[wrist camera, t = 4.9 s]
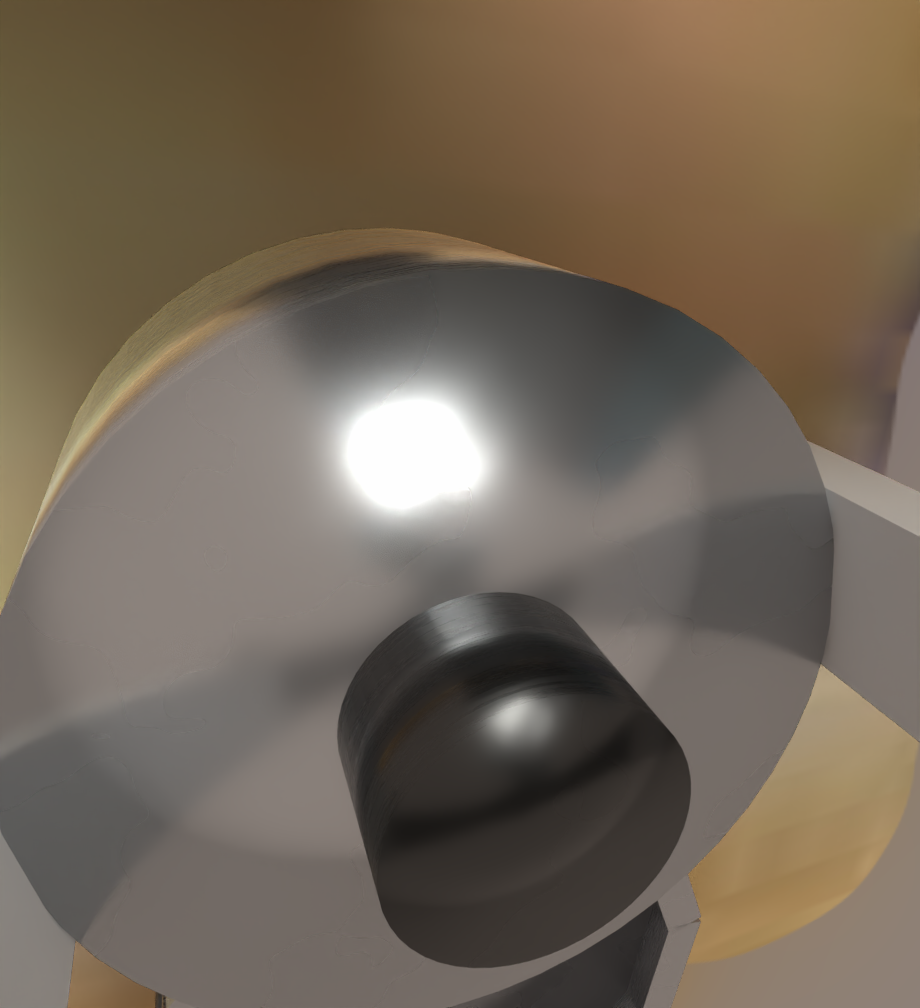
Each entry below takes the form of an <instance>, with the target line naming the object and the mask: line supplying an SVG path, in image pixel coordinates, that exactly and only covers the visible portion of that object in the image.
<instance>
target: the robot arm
mask: <svg viewBox="0 0 920 1008" xmlns="http://www.w3.org/2000/svg"><path fill="white" fill-rule="evenodd" d="M807 442H808V444H809V445H810V448H811V451H812V453H813V456H814V459H815V462H816V465H817V467H818V470H819V473H820V476H821V478H822V481H823V484H824V487H825V491H826V496H827V501H828V507H829V512H830V517H831V522H832V527H833V539H834V562H833V580H832V597H831V615H830V626H829V631H828V635H827V640H826V645H825V650H824V655H823V658H822V661H821V664H822V665H823V666H824V667H825V668H827V669H828V670H829V671H830V672H832V673H833V674H834V675H836V676H837V677H838V678H839V679H841V680H842V681H843V682H844V683H846V684H847V685H848V686H849V687H851V688H852V689H853V690H854V691H856V692H857V693H858V694H859V695H861V696H862V697H863V698H865V699H866V700H867V701H868V702H870V703H871V704H872V705H873V706H875V707H876V708H877V709H878V710H880V711H881V712H882V713H883V714H885V715H886V716H887V717H888V718H890V719H891V720H892V721H894V722H895V723H896V724H897V725H899V726H900V727H901V728H902V729H904V730H905V731H906V732H907V733H909V734H910V735H911V736H912V737H914V738H915V739H916V740H917V741H919V742H920V492H918V491H917V490H914V489H912V488H910V487H908V486H905V485H903V484H901V483H899V482H897V481H895V480H892V479H890V478H888V477H886V476H884V475H882V474H879V473H877V472H875V471H873V470H871V469H868V468H866V467H864V466H862V465H860V464H858V463H855V462H853V461H851V460H849V459H847V458H844V457H842V456H840V455H838V454H836V453H834V452H831V451H829V450H827V449H825V448H823V447H820V446H818V445H816V444H814V443H812V442H809V441H807ZM74 948H75V939H74V938H73V937H72V936H71V935H69V934H68V933H67V932H66V931H65V930H64V929H63V928H61V927H60V926H59V924H58V923H57V922H56V921H55V919H54V918H53V917H52V916H51V914H50V913H49V912H48V911H47V910H46V908H45V907H44V905H43V904H42V902H41V900H40V898H39V897H38V895H37V893H36V892H35V890H34V888H33V887H32V885H31V883H30V882H29V880H28V878H27V876H26V875H25V873H24V871H23V870H22V868H21V866H20V865H19V863H18V861H17V859H16V858H15V856H14V854H13V853H12V851H11V849H10V848H9V846H8V844H7V843H6V841H5V839H4V837H3V836H2V833H1V830H0V1008H67V1006H68V997H69V989H70V981H71V973H72V965H73V957H74Z"/></svg>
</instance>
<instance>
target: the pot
mask: <svg viewBox="0 0 920 1008" xmlns="http://www.w3.org/2000/svg"><path fill="white" fill-rule="evenodd" d="M700 917H701V915H700V912H699V908H698V905H697V902H696V899H695V896H694V892H693V889H692V886H691V883H690V880H689V876H688V874H687V875H686V876H685V877H684V878H682V879H681V880H680V881H679V882H678V883H677V884H676V885H674V886H673V887H672V888H671V889H670V890H669V891H668V892H666V893H665V894H664V895H663V896H662V897H661V898H659V899H658V900H657V901H656V902H655V903H653V904H652V905H651V906H649V907H648V908H647V909H645V910H644V911H643V912H641V913H640V914H639V915H637V916H636V917H634V918H633V919H632V920H630V921H629V922H628V923H626V924H625V925H624V926H622V927H621V928H620V929H618V930H616V931H615V932H613V933H612V934H610V935H608V936H607V937H605V938H604V939H602V940H600V941H599V942H597V943H596V944H594V945H592V946H591V947H589V948H588V949H586V950H584V951H583V952H581V953H579V954H577V955H575V956H574V957H572V958H570V959H568V960H566V961H564V962H562V963H560V964H558V965H556V966H554V967H552V968H550V969H548V970H547V971H545V972H543V973H541V974H538V975H536V976H534V977H531V978H529V979H527V980H524V981H522V982H519V983H517V984H515V985H512V986H510V987H508V988H505V989H503V990H500V991H498V992H495V993H492V994H489V995H486V996H483V997H480V998H477V999H474V1000H471V1001H468V1002H464V1003H461V1004H458V1005H455V1006H451V1007H447V1008H671V1006H672V1003H673V1000H674V997H675V994H676V991H677V988H678V986H679V983H680V980H681V976H682V974H683V971H684V968H685V966H686V963H687V960H688V957H689V954H690V951H691V948H692V945H693V943H694V940H695V937H696V934H697V931H698V928H699V925H700V922H701V921H700V920H699V918H700ZM155 1008H198V1007H195V1006H191V1005H188V1004H185V1003H181V1002H178V1001H176V1000H174V999H171V998H169V997H167V996H165V995H162V994H160V993H158V992H156V1003H155Z"/></svg>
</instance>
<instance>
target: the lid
mask: <svg viewBox="0 0 920 1008" xmlns="http://www.w3.org/2000/svg"><path fill="white" fill-rule="evenodd" d="M833 562H834V539H833V527H832V522H831V517H830V512H829V507H828V501H827V496H826V491H825V487H824V484H823V481H822V478H821V476H820V473H819V470H818V467H817V465H816V462H815V459H814V456H813V453H812V451H811V448H810V445H809V444H808V442H807V440H806V438H805V436H804V435H803V433H802V431H801V429H800V427H799V426H798V424H797V422H796V420H795V419H794V417H793V415H792V413H791V411H790V410H789V408H788V406H787V405H786V404H785V402H784V401H783V400H782V399H781V397H780V396H779V395H778V394H777V392H776V391H775V390H774V389H773V387H772V386H771V385H770V384H769V382H768V381H767V380H766V379H765V377H764V376H763V375H762V374H761V372H760V371H759V370H758V369H757V368H756V367H755V366H753V365H752V364H751V363H750V362H749V361H748V360H747V359H746V358H744V357H743V356H742V355H741V354H740V353H739V352H738V351H737V350H735V349H734V348H733V347H732V346H731V345H730V344H729V343H728V342H726V341H725V340H724V339H723V338H722V337H720V336H719V335H717V334H716V333H714V332H712V331H711V330H709V329H708V328H706V327H704V326H703V325H701V324H700V323H698V322H696V321H695V320H693V319H692V318H690V317H688V316H687V315H685V314H684V313H682V312H680V311H679V310H677V309H674V308H672V307H670V306H667V305H665V304H662V303H660V302H658V301H655V300H653V299H650V298H648V297H646V296H643V295H641V294H638V293H636V292H634V291H631V290H629V289H626V288H623V287H620V286H617V285H613V284H610V283H607V282H604V281H600V280H597V279H594V278H591V277H587V276H584V275H581V274H577V273H574V272H571V271H568V270H564V269H561V268H558V267H555V266H551V265H548V264H545V263H542V262H538V261H535V260H532V259H528V258H525V257H522V256H519V255H515V254H512V253H509V252H506V251H502V250H499V249H496V248H493V247H489V246H486V245H483V244H479V243H476V242H472V241H468V240H464V239H460V238H456V237H452V236H448V235H444V234H440V233H436V232H428V231H418V230H407V229H397V228H373V229H350V230H340V231H334V232H329V233H323V234H318V235H313V236H307V237H302V238H297V239H294V240H291V241H288V242H285V243H282V244H279V245H276V246H273V247H270V248H267V249H264V250H261V251H258V252H255V253H252V254H249V255H247V256H245V257H243V258H241V259H239V260H237V261H235V262H233V263H231V264H229V265H227V266H225V267H223V268H221V269H219V270H217V271H215V272H213V273H211V274H209V275H207V276H206V277H204V278H203V279H201V280H200V281H198V282H197V283H196V284H194V285H193V286H191V287H190V288H188V289H187V290H185V291H184V292H182V293H181V294H179V295H178V296H176V297H175V298H174V299H172V300H171V301H169V302H168V303H166V304H165V305H164V306H163V307H162V308H161V309H160V310H159V311H158V312H157V313H156V314H154V315H153V316H152V317H151V318H150V319H149V320H148V321H147V322H146V323H145V324H143V325H142V326H141V327H140V328H139V329H138V330H137V331H136V332H135V333H134V334H133V335H131V337H130V338H129V339H128V340H127V341H126V343H125V344H124V345H123V346H122V348H121V349H120V350H119V351H118V352H117V354H116V355H115V356H114V357H113V359H112V360H111V361H110V362H109V363H108V365H107V366H106V367H105V368H104V370H103V371H102V372H101V373H100V375H99V377H98V378H97V380H96V382H95V383H94V385H93V387H92V388H91V390H90V392H89V393H88V395H87V397H86V398H85V400H84V402H83V403H82V405H81V407H80V408H79V410H78V412H77V414H76V416H75V419H74V421H73V424H72V426H71V429H70V431H69V433H68V436H67V438H66V441H65V443H64V446H63V448H62V451H61V453H60V456H59V458H58V461H57V464H56V466H55V469H54V472H53V475H52V477H51V480H50V483H49V485H48V488H47V491H46V493H45V496H44V499H43V502H42V504H41V507H40V510H39V512H38V515H37V518H36V520H35V523H34V526H33V529H32V531H31V534H30V537H29V539H28V542H27V545H26V548H25V550H24V553H23V556H22V558H21V561H20V564H19V566H18V569H17V572H16V575H15V577H14V580H13V583H12V585H11V588H10V591H9V593H8V596H7V599H6V602H5V604H4V607H3V610H2V612H1V615H0V830H1V833H2V836H3V837H4V839H5V841H6V843H7V844H8V846H9V848H10V849H11V851H12V853H13V854H14V856H15V858H16V859H17V861H18V863H19V865H20V866H21V868H22V870H23V871H24V873H25V875H26V876H27V878H28V880H29V882H30V883H31V885H32V887H33V888H34V890H35V892H36V893H37V895H38V897H39V898H40V900H41V902H42V904H43V905H44V907H45V908H46V910H47V911H48V912H49V913H50V914H51V916H52V917H53V918H54V919H55V921H56V922H57V923H58V924H59V926H60V927H61V928H63V929H64V930H65V931H66V932H67V933H68V934H69V935H71V936H72V937H73V938H74V939H75V940H76V941H77V942H79V943H80V944H81V945H82V946H83V947H84V948H85V949H87V950H88V951H89V952H90V953H91V954H92V955H94V956H95V957H96V958H97V959H99V960H100V961H102V962H104V963H105V964H107V965H108V966H110V967H112V968H113V969H115V970H116V971H118V972H120V973H121V974H123V975H124V976H126V977H128V978H129V979H131V980H132V981H134V982H136V983H137V984H140V985H142V986H144V987H146V988H149V989H151V990H153V991H156V992H158V993H160V994H162V995H165V996H167V997H169V998H171V999H174V1000H176V1001H178V1002H181V1003H185V1004H188V1005H191V1006H195V1007H198V1008H447V1007H451V1006H455V1005H458V1004H461V1003H464V1002H468V1001H471V1000H474V999H477V998H480V997H483V996H486V995H489V994H492V993H495V992H498V991H500V990H503V989H505V988H508V987H510V986H512V985H515V984H517V983H519V982H522V981H524V980H527V979H529V978H531V977H534V976H536V975H538V974H541V973H543V972H545V971H547V970H548V969H550V968H552V967H554V966H556V965H558V964H560V963H562V962H564V961H566V960H568V959H570V958H572V957H574V956H575V955H577V954H579V953H581V952H583V951H584V950H586V949H588V948H589V947H591V946H592V945H594V944H596V943H597V942H599V941H600V940H602V939H604V938H605V937H607V936H608V935H610V934H612V933H613V932H615V931H616V930H618V929H620V928H621V927H622V926H624V925H625V924H626V923H628V922H629V921H630V920H632V919H633V918H634V917H636V916H637V915H639V914H640V913H641V912H643V911H644V910H645V909H647V908H648V907H649V906H651V905H652V904H653V903H655V902H656V901H657V900H658V899H659V898H661V897H662V896H663V895H664V894H665V893H666V892H668V891H669V890H670V889H671V888H672V887H673V886H674V885H676V884H677V883H678V882H679V881H680V880H681V879H682V878H684V877H685V876H686V875H687V874H688V873H689V872H690V871H691V870H692V869H693V868H694V867H695V866H696V865H697V864H698V863H699V862H700V861H701V860H702V859H703V858H704V857H705V856H706V855H707V854H708V853H709V852H710V851H711V850H712V849H713V848H714V847H715V846H716V845H717V844H718V843H719V842H720V840H721V839H722V838H723V837H724V836H725V834H726V833H727V832H728V831H729V830H730V828H731V827H732V826H733V825H734V824H735V822H736V821H737V820H738V819H739V817H740V816H741V815H742V814H743V813H744V811H745V810H746V809H747V808H748V806H749V805H750V803H751V802H752V801H753V799H754V798H755V796H756V795H757V793H758V792H759V790H760V789H761V788H762V786H763V785H764V783H765V782H766V780H767V779H768V777H769V776H770V775H771V773H772V771H773V770H774V768H775V766H776V764H777V763H778V761H779V759H780V757H781V755H782V754H783V752H784V750H785V748H786V747H787V745H788V743H789V741H790V740H791V738H792V736H793V734H794V732H795V730H796V727H797V725H798V723H799V720H800V718H801V716H802V714H803V711H804V709H805V707H806V705H807V702H808V700H809V698H810V696H811V692H812V689H813V686H814V683H815V680H816V677H817V674H818V671H819V668H820V665H821V661H822V658H823V655H824V650H825V645H826V640H827V635H828V631H829V626H830V615H831V597H832V580H833Z"/></svg>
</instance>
